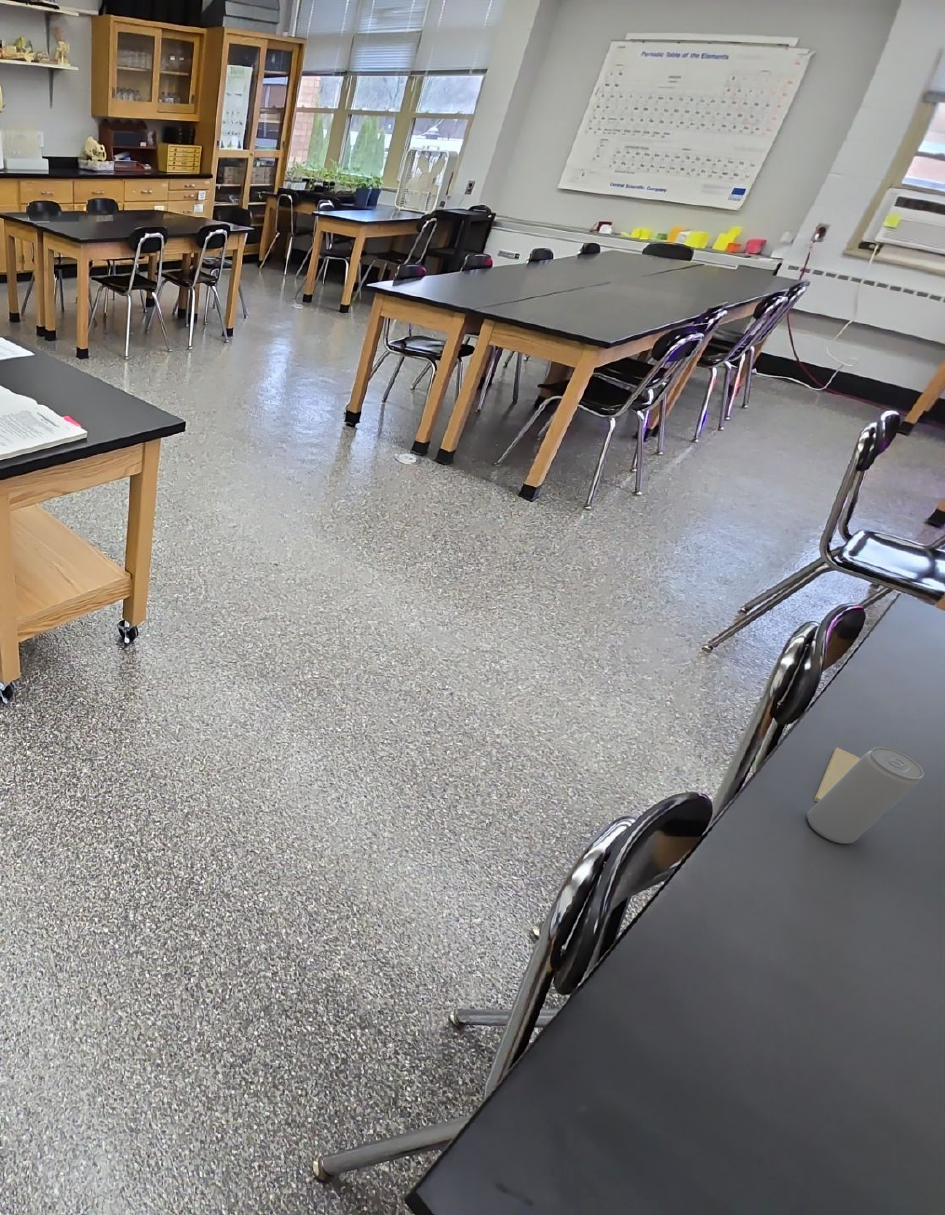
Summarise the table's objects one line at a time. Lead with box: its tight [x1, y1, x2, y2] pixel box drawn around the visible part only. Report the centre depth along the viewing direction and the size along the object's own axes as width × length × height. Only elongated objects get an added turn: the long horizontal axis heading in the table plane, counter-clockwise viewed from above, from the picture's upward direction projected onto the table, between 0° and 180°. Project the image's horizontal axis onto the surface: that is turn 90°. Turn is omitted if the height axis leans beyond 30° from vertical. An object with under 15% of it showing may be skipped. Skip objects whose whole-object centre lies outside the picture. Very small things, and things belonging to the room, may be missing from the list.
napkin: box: [813, 747, 862, 803], centre depth 92 cm, size 13×4×1 cm, turn 132°
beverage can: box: [806, 746, 925, 845], centre depth 82 cm, size 5×5×12 cm
